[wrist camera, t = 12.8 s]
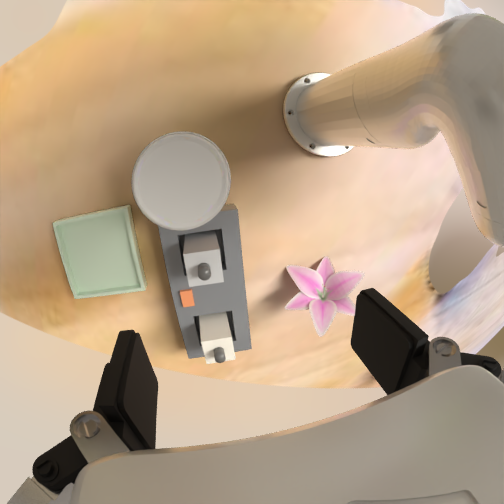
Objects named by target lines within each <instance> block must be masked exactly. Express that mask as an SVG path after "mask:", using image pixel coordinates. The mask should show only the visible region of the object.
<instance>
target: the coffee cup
mask: <svg viewBox="0 0 504 504" xmlns="http://www.w3.org/2000/svg"><path fill="white" fill-rule="evenodd" d="M230 185H231V174H230V168H229V165H228V162H227V159H226V157H225V155H224V154H223V152H222V151H221V150H220V148H219V147H218V146H217V145H216V144H215V143H214V142H212V141H211V140H210V139H208V138H206V137H204V136H202V135H200V134H197V133H193V132H186V131H180V132H173V133H168V134H165V135H163V136H161V137H159V138H157V139H155V140H154V141H152V142H151V143H150V144H149V145H148V146H147V147H146V148H145V149H144V150H143V151H142V152H141V154H140V155H139V157H138V159H137V161H136V163H135V165H134V169H133V173H132V192H133V196H134V199H135V201H136V204H137V206H138V207H139V209H140V210H141V212H142V213H143V214H144V215H145V216H146V217H147V218H148V219H149V220H150V221H152V222H153V223H155V224H156V225H158V226H160V227H163V228H166V229H170V230H189V229H194V228H197V227H199V226H202V225H204V224H205V223H207V222H209V221H210V220H211V219H213V218H214V217H215V216H216V215H217V214H218V213H219V211H220V210H221V209H222V207H223V206H224V204H225V202H226V200H227V198H228V195H229V191H230Z"/></svg>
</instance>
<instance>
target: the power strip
mask: <svg viewBox="0 0 504 504" xmlns="http://www.w3.org/2000/svg"><path fill="white" fill-rule="evenodd" d="M158 228H159V234H160V239H161V245H162V250H163V255H164V260H165V265H166V270H167V274H168V279H169V283H170V288H171V292H172V296H173V301H174V305H175V309H176V313H177V317H178V321H179V325H180V329H181V332H182V336H183V340H184V343H185V347H186V350H187V354H188V357H189V359H190V358H198V357H205V355H204V352H203V348H202V344H201V335H200V321H199V316H200V315H207V314H213V313H220V312H226V314H227V318H228V323H229V327H230V331H231V336H232V341H233V347H234V352H237V351H243V350H248V349H252V348H251V338H250V329H249V319H248V310H247V300H246V290H245V280H244V270H243V260H242V250H241V239H240V229H239V218H238V209H237V208H236V206H235V205H234V204H230V205H224V206H223V207H222V209H221V210H220V211H219V213H218V214H217V215H216V216H215V217H214V218H213V219H211V220H210V221H209V222H207V223H205V224H204V225H202V226H199V227H197V228H194V229H189V230H170V229H166V228H163V227H160V226H158ZM209 230H215V233H216V237H217V241H218V245H219V248H220V256H221V263H222V271H223V278H224V282H221V283H214V284H207V285H200V286H193V287H189V283H188V278H187V273H186V267H185V262H184V256H183V251H184V241H185V234H188V233H195V232H202V231H209Z"/></svg>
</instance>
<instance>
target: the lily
mask: <svg viewBox="0 0 504 504" xmlns="http://www.w3.org/2000/svg"><path fill="white" fill-rule="evenodd" d="M286 269H287V271H288V273H289V274H290V276H291V278H292V279H293V281H294V282H295V284H296V285H297V287H298V288H299V289H300V291H301V292H299V293H298V294H296V295H295V296H294V297H293V298H292V299H291V300H290V301H289V302H288V303H287V305H286V306H285V309H286V310H306V309H309V311H310V314H311V317H312V321H313V324H314V327H315V329H316V332H317V334H318V335H319V336H320V337H321V336H323V335H324V334H325V333H326V331H327V330H328V328H329V327H330V325H331V323H332V321H333V319H334V317H335V315H336V312H339V313H342V314H347V315H352V316H355V309H356V306H355V305H354V303H353V302H352V300H351V299H350V298H349V297H348V296H347V295H349V294H350V293H351V292H352V291H353V290H354V288H355V287H356V286H357V285H358V284H359V283H360V281H361V280H362V279H363V277H364V273H363V272H360V271H340V272H337V273H335V271H334V268H333V265H332V263H331V261H330V259H329V258H328V257H327V256H325V257H324V258H323V259H322V261H321V262H320V264H319V266H318V268H317V270H316V271H315V270H313V269H311V268H307V267H303V266H297V265H288V266H286Z"/></svg>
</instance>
